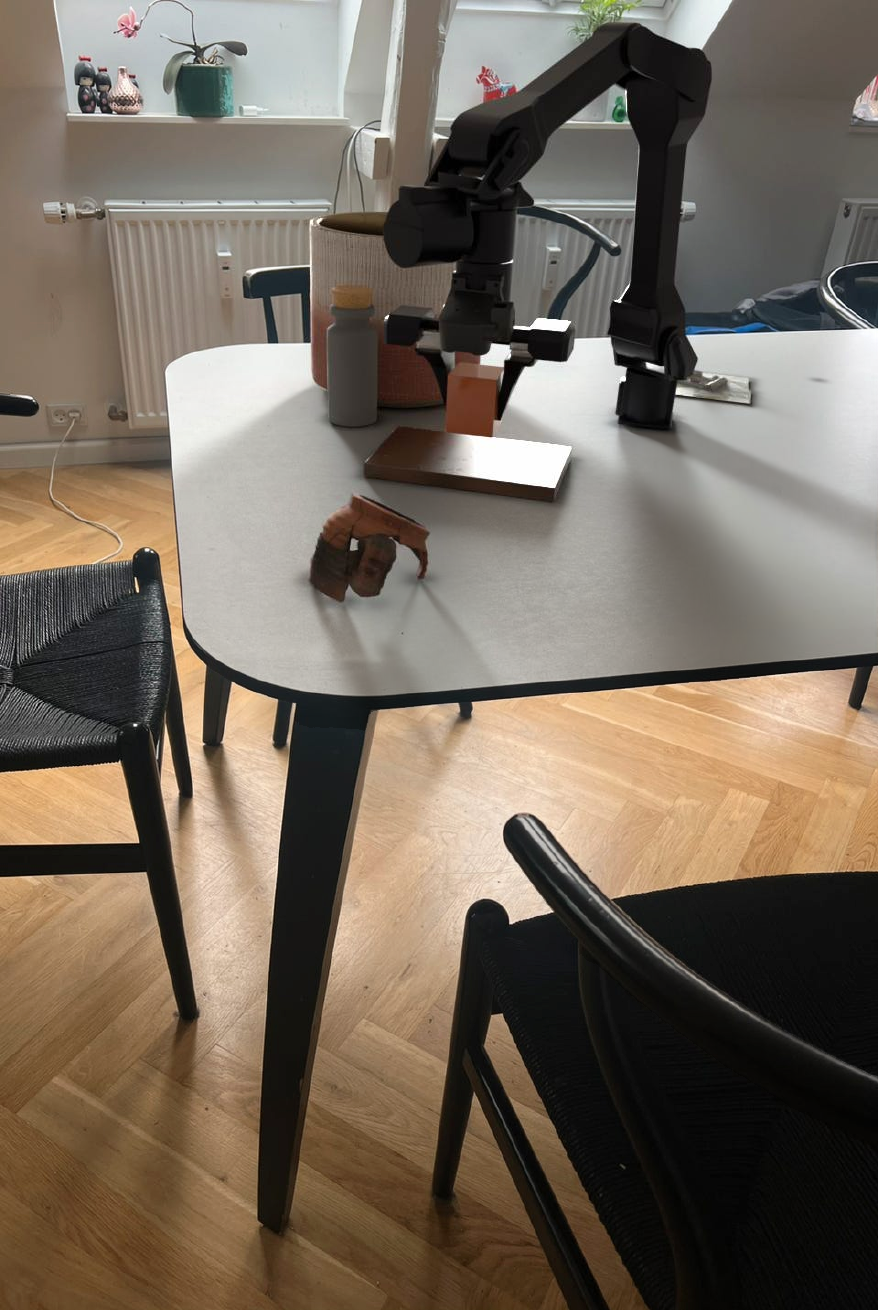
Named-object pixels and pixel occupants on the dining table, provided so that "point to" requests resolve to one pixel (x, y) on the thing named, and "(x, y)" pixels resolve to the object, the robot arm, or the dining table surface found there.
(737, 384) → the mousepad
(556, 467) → the board
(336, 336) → the bottle
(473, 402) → the terracotta block
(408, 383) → the planter
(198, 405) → the dining table surface
